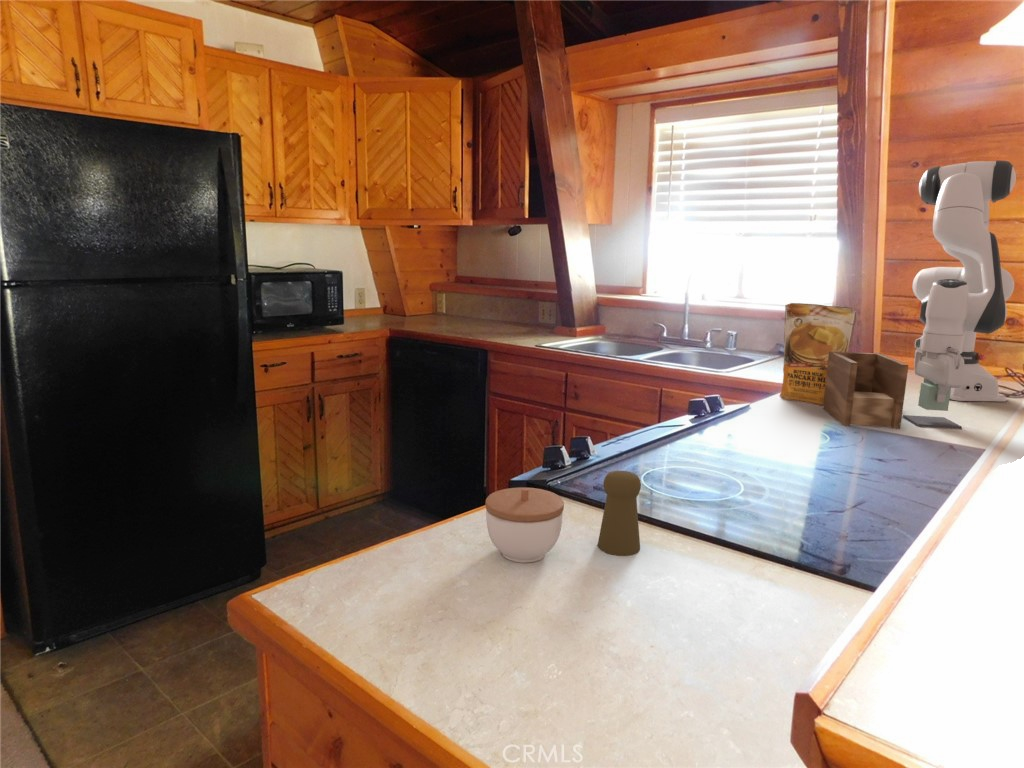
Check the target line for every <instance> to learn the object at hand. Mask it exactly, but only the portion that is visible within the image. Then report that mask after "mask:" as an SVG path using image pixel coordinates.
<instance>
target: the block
mask: <svg viewBox="0 0 1024 768" xmlns="http://www.w3.org/2000/svg"><path fill="white" fill-rule="evenodd" d="M938 389H939V388H938V384H936V383H923V382H921V383H920V389H919V390H920V392H919V396H918V404H917V406H918V407H920V408H922V409H924V410H927V411H943V412H944V411H946V412H947V411H949V405H950V400H951V399H950V392H951V388H950V389H949V391H948V393H947V395H946V397H945V402H937V401H936V400H935V394H937V392H938Z"/></svg>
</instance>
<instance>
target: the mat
mask: <svg viewBox="0 0 1024 768" xmlns="http://www.w3.org/2000/svg"><path fill="white" fill-rule="evenodd" d="M902 418H903V419H905V420H907V421H908V422H910V423H911V424H913V425H915V426H916V427H920V428H921V427H922V428H937V429H956V430H957V429H958V430H962V429H963V426H962V425H959V424H958V423H956V422H954V421H952V420H951V419H948V418H946V417H943V416H931V415H930V416H929V415H928V416H927V415H906V414H902Z"/></svg>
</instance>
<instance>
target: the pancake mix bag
mask: <svg viewBox="0 0 1024 768" xmlns="http://www.w3.org/2000/svg"><path fill="white" fill-rule="evenodd" d="M784 308H785V310H784V311H785V312H784V314H785V315H784V334H783V335H784V336H783V368H782V369H783V370H782V371H783V372H782V373H783V378H782V384H781V385H782V386H781V390H780V393H779V397H780V398H783V399H785V400H788V401H795V402H798V403H799V402H800V403H805V404H812V405H817V406H823V403H824V394H825V384H826V375H827V366H828V357H829V351H830V352H849V351H850V348H851V343H852V338H853V333H854V328H855V325H856V321H857V311H856V310H854V311H853V307H848V306H835V305H833V306H832V305H825V304H815V303H802V302H801V303H800V302H799V303H798V302H790V303H787V304H785V306H784Z"/></svg>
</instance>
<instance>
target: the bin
mask: <svg viewBox="0 0 1024 768" xmlns="http://www.w3.org/2000/svg"><path fill="white" fill-rule="evenodd" d="M908 370H909V364H907V363H904V362H903V361H900V360H898V359H895V358H892V357H890V356H888V355H884V354H882V353H877V352H875V353H873V352H854V351H850V352H849V351H848V352H830V351H829V357H828V366H827V375H826V384H825V394H824V403H823V405H822V409H823V410H824V411H825V412H826V413H827V414H828V415H830V416H831V417H833V418H834V419H835V420H836V421H837V422H838V423H840V425H842V426H843V425H844V426H843V427H851V425H852V426H854V425H855V426H871V427H872V426H874V427H890V428H892V429H894V430H900V429H901V426H902V418H903V411H904V410H903V409H904V402H905V394H906V389H907V388H906V387H907V382H908V381H907V378H908V372H909V371H908Z"/></svg>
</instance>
